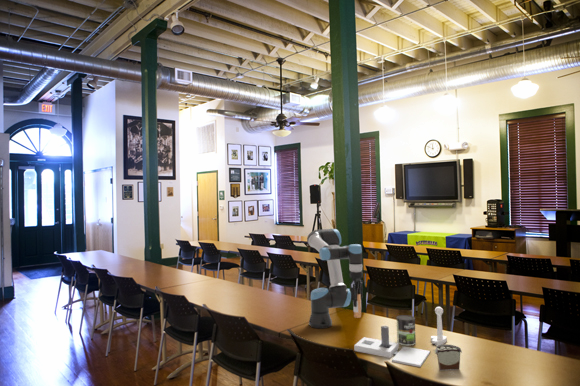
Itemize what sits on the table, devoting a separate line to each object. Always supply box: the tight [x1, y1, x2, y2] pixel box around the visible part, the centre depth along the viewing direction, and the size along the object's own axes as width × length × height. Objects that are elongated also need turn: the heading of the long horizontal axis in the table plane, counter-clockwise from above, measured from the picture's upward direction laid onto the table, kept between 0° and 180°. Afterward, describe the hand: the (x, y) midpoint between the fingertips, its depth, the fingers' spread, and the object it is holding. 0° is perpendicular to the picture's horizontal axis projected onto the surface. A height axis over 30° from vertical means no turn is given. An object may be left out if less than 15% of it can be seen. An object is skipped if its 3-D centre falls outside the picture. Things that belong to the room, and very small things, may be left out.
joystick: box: [430, 306, 448, 347], centre depth 219 cm, size 11×8×20 cm
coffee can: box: [395, 314, 417, 347], centre depth 220 cm, size 10×10×14 cm
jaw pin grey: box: [380, 325, 390, 348], centre depth 208 cm, size 4×4×13 cm
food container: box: [434, 343, 463, 372], centre depth 186 cm, size 12×6×10 cm, turn 92°
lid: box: [391, 345, 431, 368], centre depth 200 cm, size 16×20×1 cm
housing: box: [353, 336, 400, 359], centre depth 211 cm, size 20×14×3 cm
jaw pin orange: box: [353, 294, 362, 319], centre depth 227 cm, size 4×4×13 cm
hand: (357, 310), depth 227 cm, fingers closed on jaw pin orange, 4 cm apart
